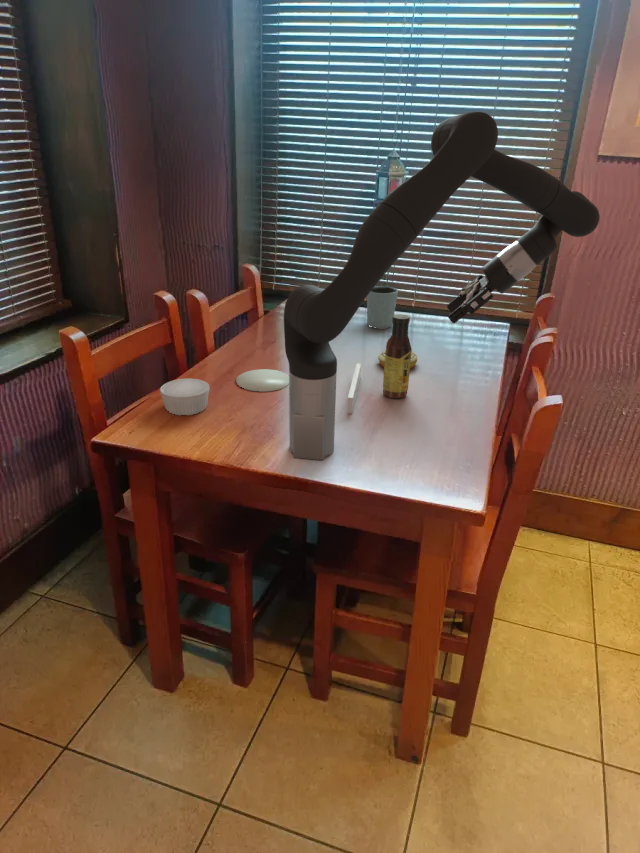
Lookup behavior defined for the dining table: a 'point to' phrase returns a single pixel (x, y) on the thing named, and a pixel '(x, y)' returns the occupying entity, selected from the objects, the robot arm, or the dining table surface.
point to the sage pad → (263, 380)
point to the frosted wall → (354, 388)
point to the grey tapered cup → (381, 306)
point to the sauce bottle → (397, 359)
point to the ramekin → (185, 396)
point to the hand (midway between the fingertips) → (449, 314)
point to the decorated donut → (412, 363)
